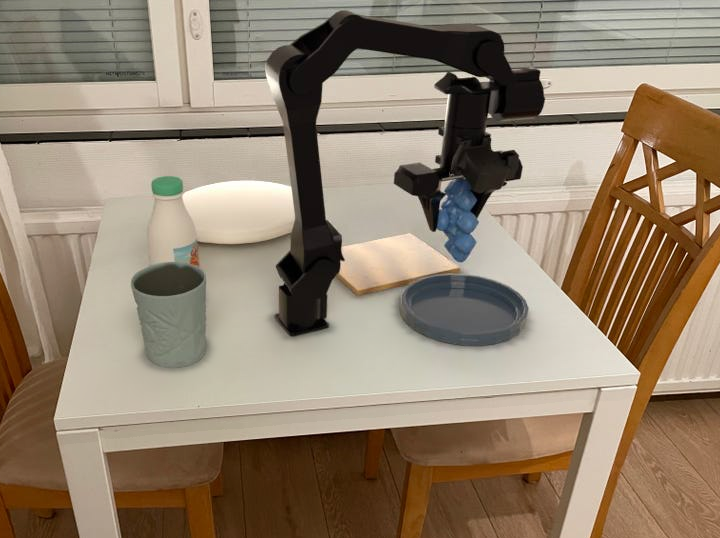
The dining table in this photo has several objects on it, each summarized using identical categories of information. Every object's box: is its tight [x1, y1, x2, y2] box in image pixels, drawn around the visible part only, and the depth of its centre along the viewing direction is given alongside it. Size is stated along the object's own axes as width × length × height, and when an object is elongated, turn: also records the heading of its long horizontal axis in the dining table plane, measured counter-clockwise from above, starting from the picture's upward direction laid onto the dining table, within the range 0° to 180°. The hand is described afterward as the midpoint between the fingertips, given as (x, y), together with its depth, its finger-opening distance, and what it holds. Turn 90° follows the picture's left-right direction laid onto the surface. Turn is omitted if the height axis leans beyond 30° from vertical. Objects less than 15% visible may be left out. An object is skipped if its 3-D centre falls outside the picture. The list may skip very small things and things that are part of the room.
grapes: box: [436, 178, 480, 263], centre depth 113 cm, size 12×7×12 cm, turn 5°
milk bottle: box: [146, 175, 201, 268], centre depth 116 cm, size 8×8×20 cm
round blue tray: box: [399, 273, 529, 347], centre depth 117 cm, size 19×19×2 cm
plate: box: [182, 180, 295, 245], centre depth 145 cm, size 28×6×27 cm
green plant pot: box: [130, 262, 207, 369], centre depth 105 cm, size 10×10×12 cm
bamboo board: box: [335, 232, 461, 297], centre depth 132 cm, size 20×16×1 cm
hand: (451, 227), depth 114 cm, fingers closed on grapes, 6 cm apart
